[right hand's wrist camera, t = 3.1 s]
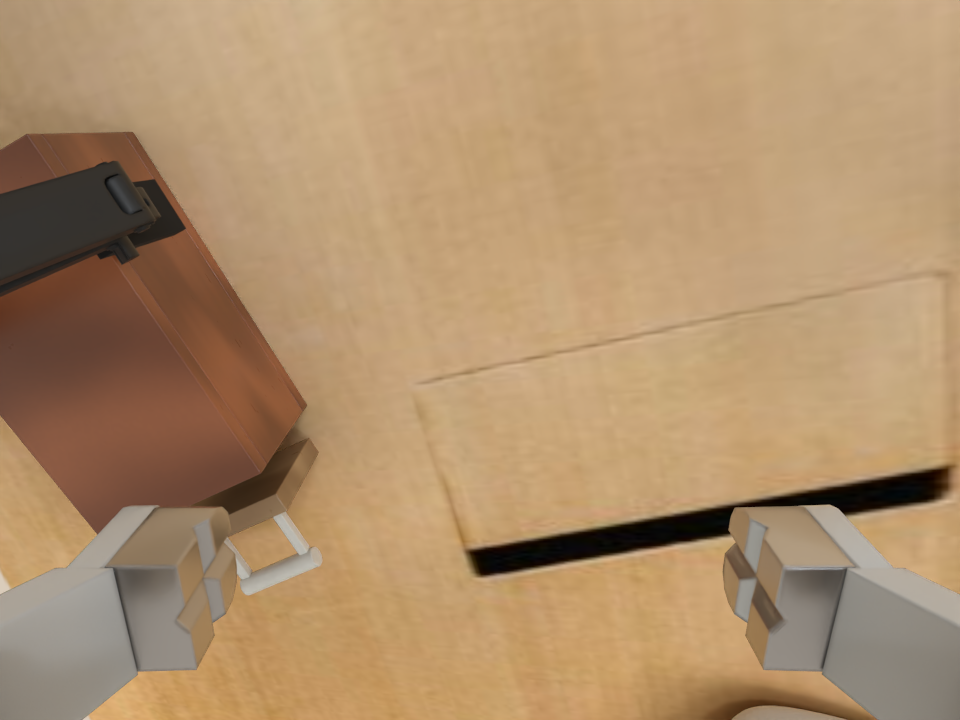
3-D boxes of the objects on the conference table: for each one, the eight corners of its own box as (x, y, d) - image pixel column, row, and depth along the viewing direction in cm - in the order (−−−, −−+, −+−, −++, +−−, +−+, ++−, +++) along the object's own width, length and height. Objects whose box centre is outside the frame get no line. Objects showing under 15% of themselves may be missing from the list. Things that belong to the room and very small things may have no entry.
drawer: (360, 516, 43) (337, 583, 36) (248, 564, 44) (208, 636, 38) (160, 206, 36) (89, 224, 30) (36, 275, 38) (-55, 306, 31)
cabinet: (307, 405, 41) (261, 473, 33) (178, 465, 43) (105, 544, 35) (133, 131, 36) (26, 133, 27) (-7, 213, 37) (-146, 237, 29)
